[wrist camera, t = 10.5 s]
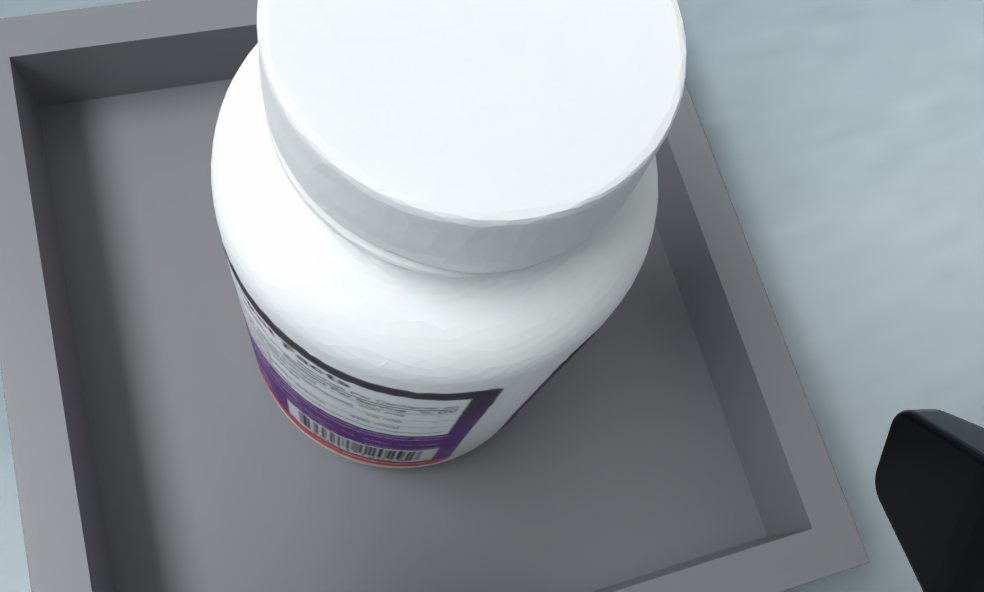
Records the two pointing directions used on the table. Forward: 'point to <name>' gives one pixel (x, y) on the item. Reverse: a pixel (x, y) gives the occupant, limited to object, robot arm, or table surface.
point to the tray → (300, 460)
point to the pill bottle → (438, 204)
